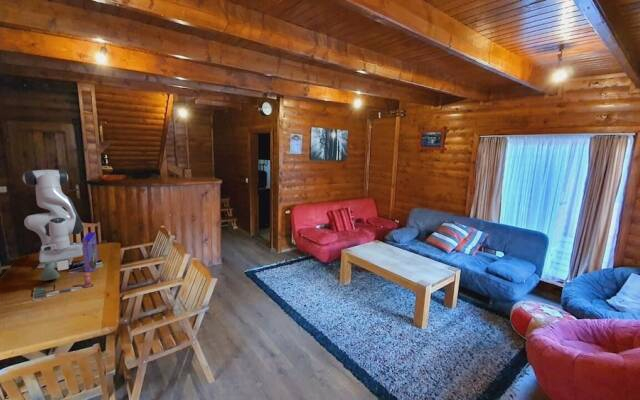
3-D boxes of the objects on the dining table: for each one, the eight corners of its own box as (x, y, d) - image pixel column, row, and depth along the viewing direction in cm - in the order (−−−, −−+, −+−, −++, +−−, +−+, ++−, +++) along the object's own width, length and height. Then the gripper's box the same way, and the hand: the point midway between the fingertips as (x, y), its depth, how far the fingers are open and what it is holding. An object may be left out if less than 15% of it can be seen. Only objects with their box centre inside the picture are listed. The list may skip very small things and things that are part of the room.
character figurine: (29, 287, 178) (25, 259, 175) (33, 281, 185) (29, 255, 182) (63, 281, 187) (60, 255, 184) (65, 276, 194) (62, 251, 190)
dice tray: (34, 289, 175) (34, 287, 175) (56, 285, 182) (56, 283, 182) (33, 296, 168) (32, 294, 168) (56, 291, 175) (56, 289, 174)
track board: (33, 297, 168) (33, 296, 168) (93, 284, 186) (93, 283, 186) (32, 300, 164) (32, 299, 164) (94, 287, 183) (94, 286, 182)
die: (57, 267, 179) (57, 260, 178) (68, 265, 182) (67, 258, 181) (58, 270, 175) (57, 262, 174) (68, 268, 179) (67, 261, 178)
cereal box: (93, 271, 204) (90, 239, 199) (85, 272, 201) (82, 239, 197) (98, 262, 218) (95, 231, 214) (90, 263, 216) (87, 232, 212)
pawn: (83, 285, 182) (82, 272, 181) (91, 283, 185) (90, 270, 183) (84, 288, 179) (82, 274, 178) (92, 286, 182) (91, 273, 180)
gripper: (82, 240, 185) (84, 260, 188) (37, 246, 172) (40, 267, 174) (82, 242, 181) (84, 263, 183) (37, 249, 167) (40, 271, 170)
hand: (62, 265), depth 179 cm, fingers closed on die, 5 cm apart
